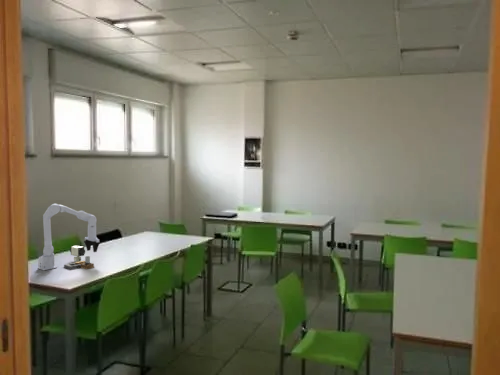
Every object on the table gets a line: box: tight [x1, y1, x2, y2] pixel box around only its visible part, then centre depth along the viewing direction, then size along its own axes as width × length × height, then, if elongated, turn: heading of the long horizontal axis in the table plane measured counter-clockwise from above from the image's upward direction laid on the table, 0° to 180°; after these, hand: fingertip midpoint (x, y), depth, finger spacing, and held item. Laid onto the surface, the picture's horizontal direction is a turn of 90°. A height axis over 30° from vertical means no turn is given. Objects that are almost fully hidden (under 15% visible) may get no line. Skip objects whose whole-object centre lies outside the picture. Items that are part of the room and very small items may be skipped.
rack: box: [81, 262, 95, 270], centre depth 294 cm, size 6×6×3 cm
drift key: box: [74, 260, 85, 265], centre depth 298 cm, size 7×2×3 cm, turn 144°
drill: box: [84, 255, 91, 265], centre depth 294 cm, size 3×3×7 cm
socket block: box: [63, 262, 82, 270], centre depth 293 cm, size 8×8×2 cm
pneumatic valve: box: [69, 244, 86, 263], centre depth 311 cm, size 6×12×12 cm, turn 59°
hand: (91, 251), depth 301 cm, fingers open, 7 cm apart
